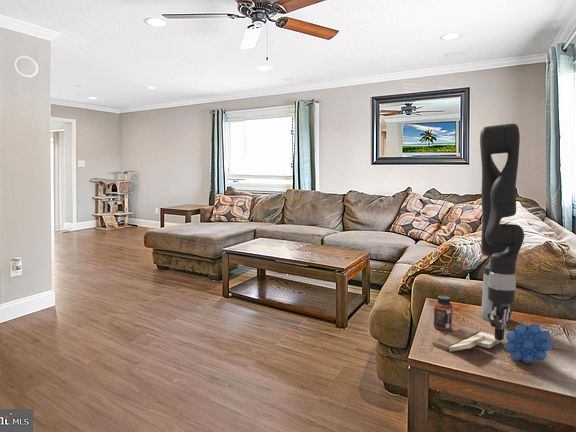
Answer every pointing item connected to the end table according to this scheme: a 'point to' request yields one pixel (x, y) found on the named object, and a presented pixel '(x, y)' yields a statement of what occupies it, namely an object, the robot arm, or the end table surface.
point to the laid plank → (454, 337)
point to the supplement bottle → (443, 313)
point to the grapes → (528, 343)
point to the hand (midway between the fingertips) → (499, 339)
